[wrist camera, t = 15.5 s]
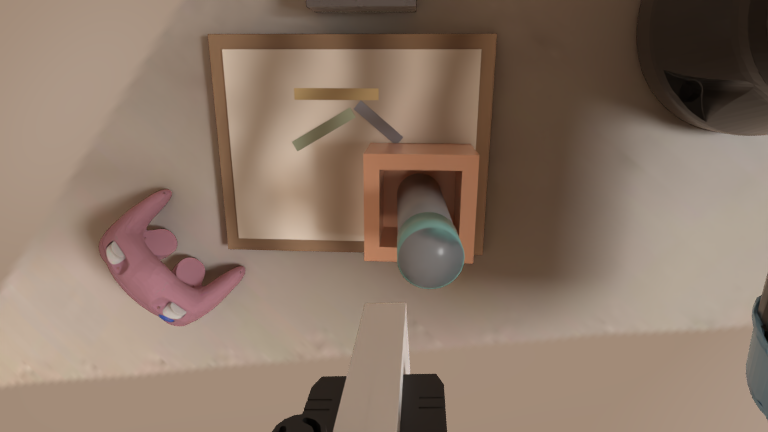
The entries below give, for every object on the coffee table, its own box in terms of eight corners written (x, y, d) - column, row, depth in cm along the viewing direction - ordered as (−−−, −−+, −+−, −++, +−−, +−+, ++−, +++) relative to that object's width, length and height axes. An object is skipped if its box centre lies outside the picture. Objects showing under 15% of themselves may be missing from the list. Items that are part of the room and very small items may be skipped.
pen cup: (470, 143, 34) (479, 155, 29) (465, 238, 36) (473, 263, 31) (370, 142, 35) (363, 153, 30) (370, 236, 37) (364, 260, 32)
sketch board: (494, 34, 33) (497, 33, 32) (480, 250, 38) (482, 256, 36) (213, 35, 34) (206, 34, 33) (233, 244, 39) (227, 250, 38)
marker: (442, 172, 34) (465, 226, 23) (441, 216, 35) (463, 288, 24) (396, 172, 34) (396, 226, 23) (396, 216, 35) (397, 289, 24)
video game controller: (147, 204, 40) (73, 253, 35) (167, 179, 37) (90, 228, 32) (229, 288, 42) (171, 347, 37) (255, 271, 39) (195, 331, 34)
